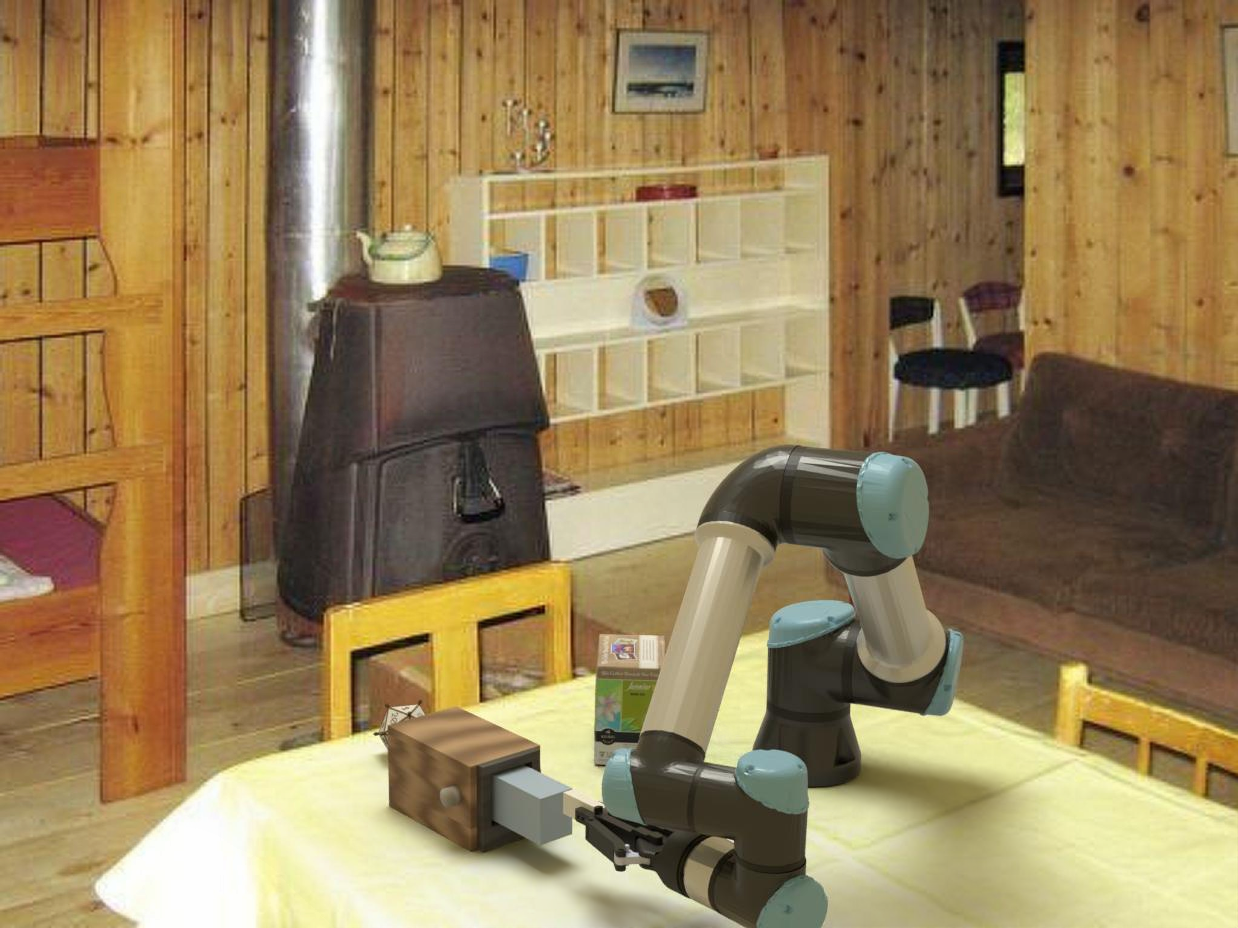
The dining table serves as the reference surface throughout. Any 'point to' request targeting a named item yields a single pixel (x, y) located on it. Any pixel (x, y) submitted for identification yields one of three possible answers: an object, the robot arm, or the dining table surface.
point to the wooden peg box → (454, 774)
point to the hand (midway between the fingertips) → (568, 801)
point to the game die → (398, 718)
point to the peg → (530, 804)
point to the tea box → (624, 689)
